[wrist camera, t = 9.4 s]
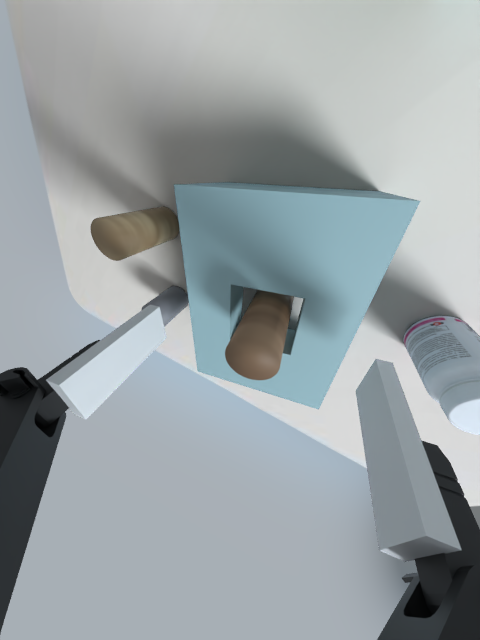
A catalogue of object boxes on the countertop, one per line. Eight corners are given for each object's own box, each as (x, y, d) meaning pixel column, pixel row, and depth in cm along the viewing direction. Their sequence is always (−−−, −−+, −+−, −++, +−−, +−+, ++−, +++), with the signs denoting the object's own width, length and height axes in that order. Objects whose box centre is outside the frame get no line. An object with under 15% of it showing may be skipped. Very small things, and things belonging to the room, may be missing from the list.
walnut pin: (267, 262, 20) (224, 331, 11) (300, 266, 20) (284, 345, 10) (264, 290, 22) (224, 372, 13) (293, 296, 21) (275, 386, 12)
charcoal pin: (165, 284, 26) (138, 302, 22) (187, 288, 26) (162, 308, 22) (169, 304, 28) (145, 324, 24) (190, 309, 27) (168, 331, 24)
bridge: (226, 182, 18) (174, 184, 11) (379, 191, 15) (420, 201, 9) (226, 326, 27) (197, 371, 21) (320, 349, 24) (318, 409, 18)
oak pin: (150, 205, 21) (84, 215, 15) (177, 208, 20) (118, 220, 14) (156, 237, 23) (100, 257, 17) (181, 240, 22) (130, 263, 16)
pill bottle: (396, 351, 21) (428, 429, 15) (411, 312, 19) (457, 385, 12) (455, 357, 19) (521, 448, 13) (480, 316, 17) (578, 402, 10)
